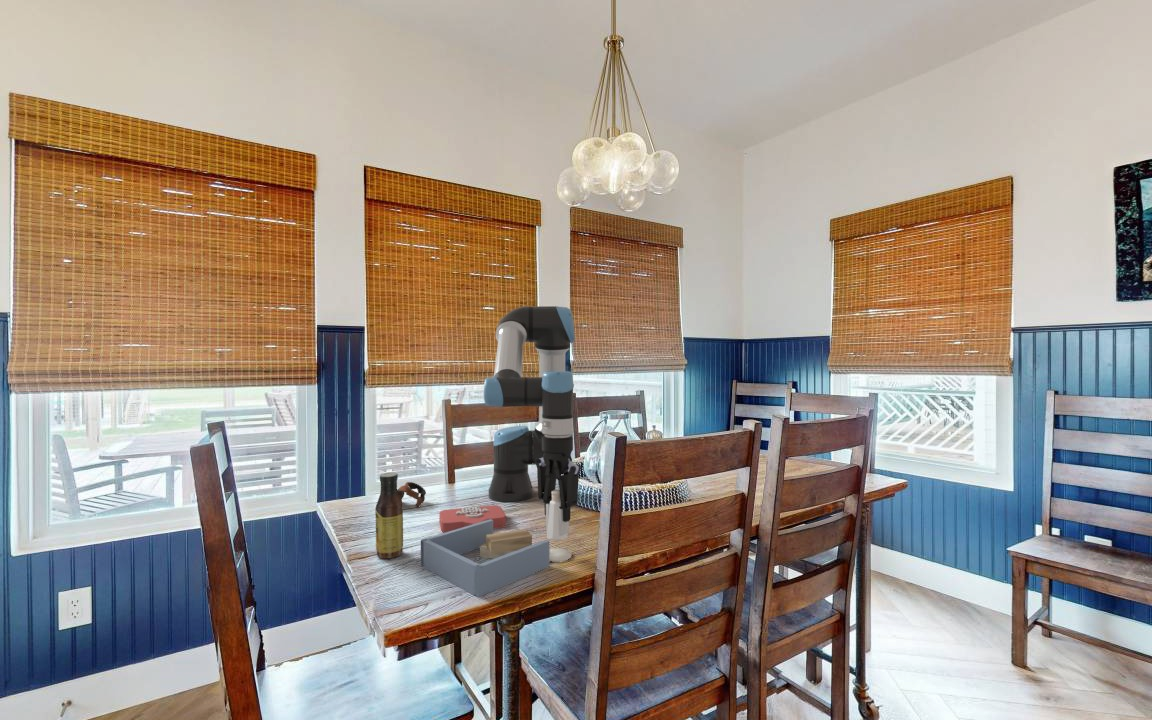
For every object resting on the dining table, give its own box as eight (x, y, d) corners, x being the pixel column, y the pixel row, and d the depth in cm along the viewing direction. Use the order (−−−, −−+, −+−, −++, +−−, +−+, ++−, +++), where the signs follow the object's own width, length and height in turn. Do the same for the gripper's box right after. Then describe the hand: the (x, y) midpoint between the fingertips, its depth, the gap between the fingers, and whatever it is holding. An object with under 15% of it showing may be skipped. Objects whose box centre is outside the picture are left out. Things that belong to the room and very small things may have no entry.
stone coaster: (557, 548, 130) (557, 546, 130) (577, 556, 125) (577, 553, 125) (536, 556, 125) (536, 554, 125) (557, 564, 120) (557, 562, 120)
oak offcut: (486, 546, 125) (486, 534, 125) (525, 540, 129) (525, 529, 129) (491, 553, 120) (491, 541, 120) (531, 547, 124) (531, 535, 124)
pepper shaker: (542, 538, 123) (542, 492, 123) (551, 531, 128) (551, 487, 128) (563, 541, 121) (563, 495, 121) (571, 534, 126) (571, 489, 126)
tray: (490, 542, 134) (490, 519, 134) (549, 566, 119) (549, 541, 119) (420, 565, 119) (420, 539, 119) (478, 597, 104) (478, 567, 104)
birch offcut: (491, 551, 129) (491, 539, 129) (537, 559, 124) (537, 547, 124) (480, 558, 125) (479, 546, 125) (527, 567, 120) (527, 555, 120)
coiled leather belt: (404, 501, 171) (416, 479, 171) (421, 518, 167) (434, 496, 167) (376, 501, 161) (390, 478, 161) (394, 519, 156) (408, 496, 156)
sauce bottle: (382, 549, 129) (382, 470, 128) (407, 550, 128) (406, 470, 128) (371, 560, 122) (370, 476, 122) (397, 560, 122) (396, 477, 121)
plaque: (442, 524, 137) (438, 508, 151) (442, 539, 137) (438, 521, 151) (508, 518, 143) (499, 502, 157) (508, 532, 143) (499, 515, 157)
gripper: (522, 433, 127) (522, 527, 128) (572, 441, 116) (571, 545, 116) (544, 429, 133) (544, 520, 133) (593, 437, 121) (593, 536, 122)
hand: (557, 531), depth 125 cm, fingers closed on pepper shaker, 4 cm apart
